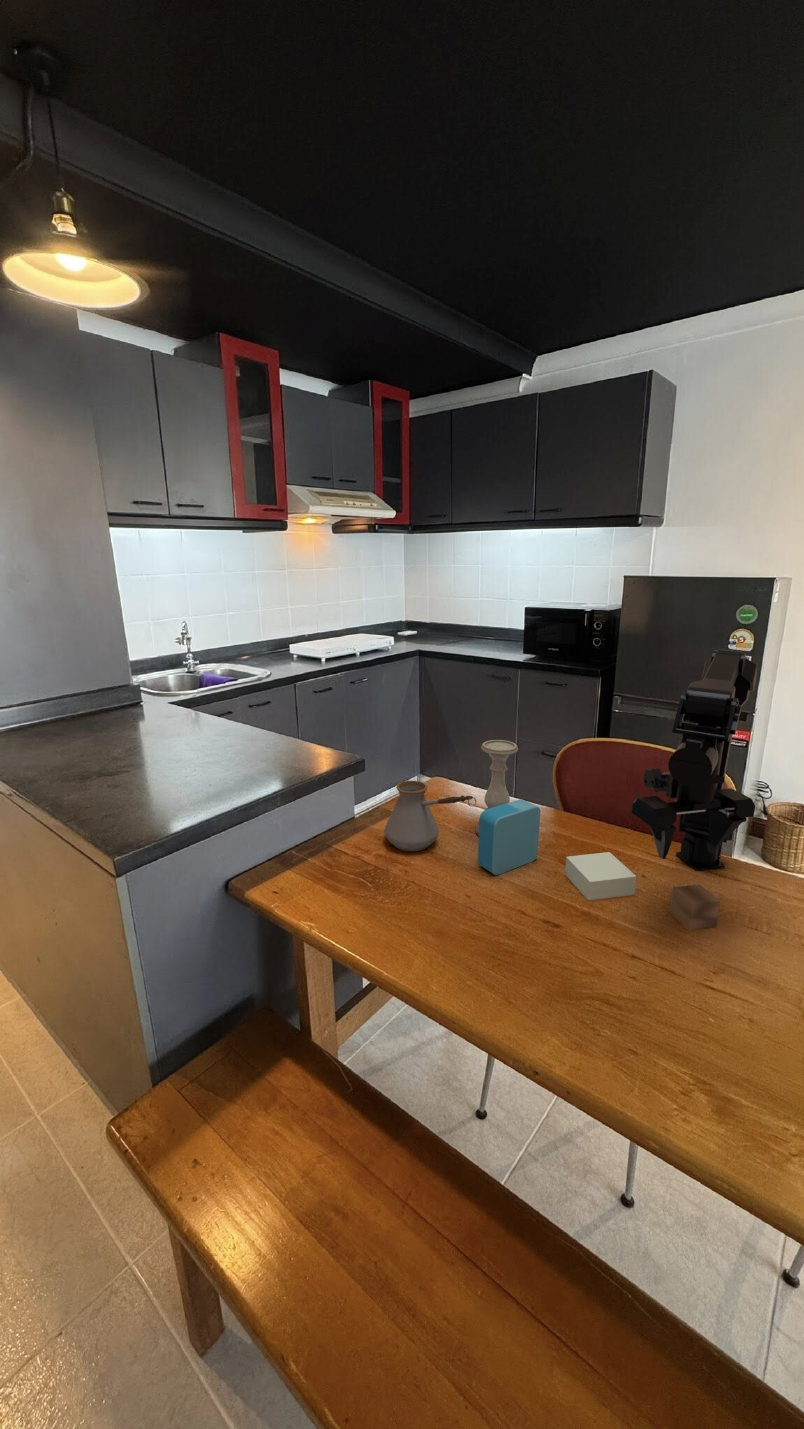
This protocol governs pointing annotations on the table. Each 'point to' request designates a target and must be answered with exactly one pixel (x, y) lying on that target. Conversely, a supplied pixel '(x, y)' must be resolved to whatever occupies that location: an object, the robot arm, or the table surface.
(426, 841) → the coffee pot
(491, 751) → the candle holder
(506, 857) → the blue rounded slab
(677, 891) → the walnut cube
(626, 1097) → the table surface
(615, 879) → the base block
